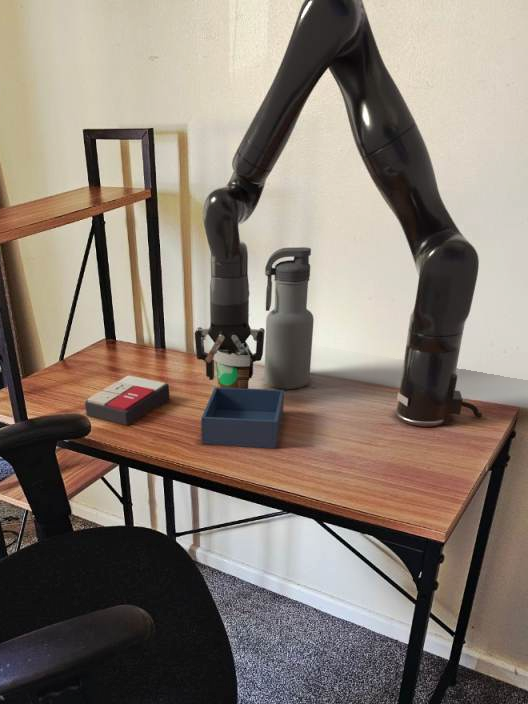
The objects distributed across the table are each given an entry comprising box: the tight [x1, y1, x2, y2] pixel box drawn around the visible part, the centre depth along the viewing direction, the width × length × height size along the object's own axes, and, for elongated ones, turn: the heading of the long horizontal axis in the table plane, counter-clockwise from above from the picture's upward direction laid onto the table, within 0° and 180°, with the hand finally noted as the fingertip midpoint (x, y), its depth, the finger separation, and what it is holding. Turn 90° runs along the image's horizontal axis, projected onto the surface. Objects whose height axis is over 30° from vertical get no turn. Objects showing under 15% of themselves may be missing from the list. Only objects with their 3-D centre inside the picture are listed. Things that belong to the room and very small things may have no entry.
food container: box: [213, 348, 250, 389], centre depth 145 cm, size 12×6×10 cm, turn 6°
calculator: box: [84, 375, 170, 426], centre depth 147 cm, size 11×4×15 cm
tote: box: [200, 386, 285, 449], centre depth 135 cm, size 14×15×5 cm
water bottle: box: [263, 246, 315, 390], centre depth 148 cm, size 10×10×28 cm
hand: (229, 379), depth 146 cm, fingers closed on food container, 7 cm apart
